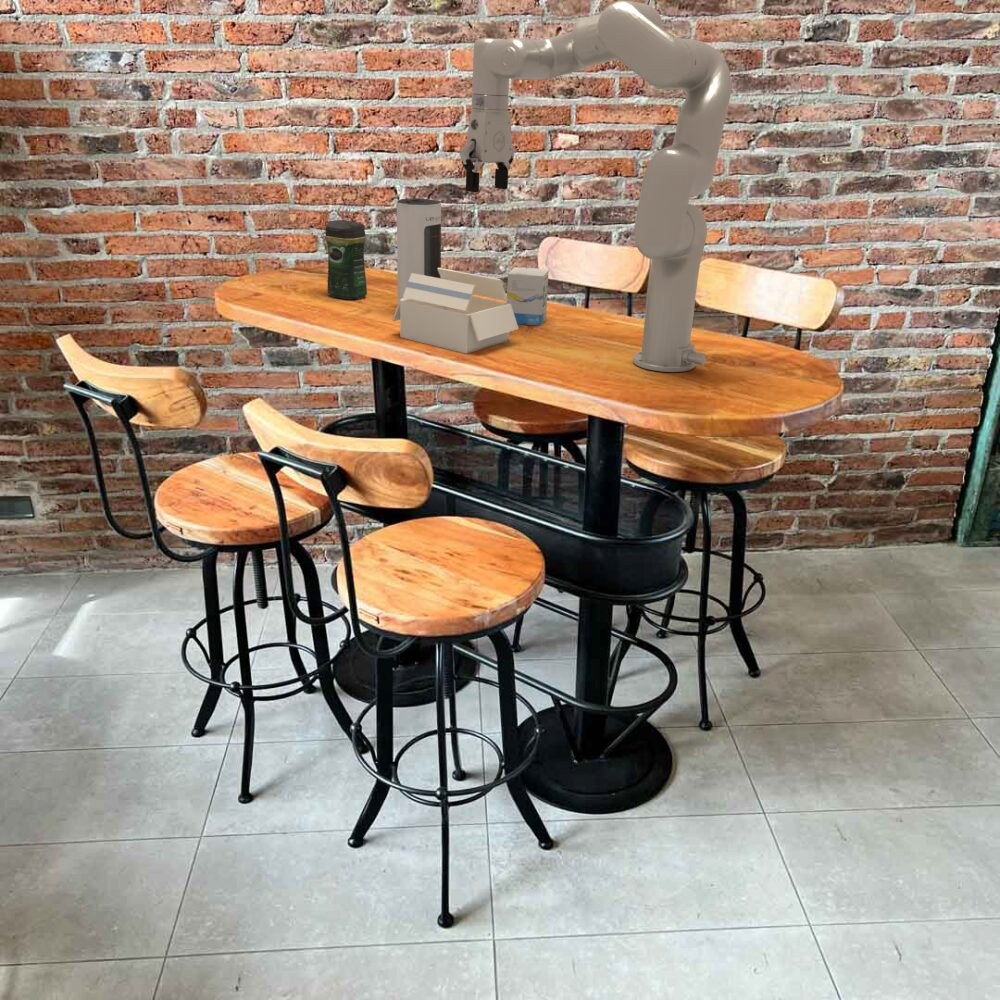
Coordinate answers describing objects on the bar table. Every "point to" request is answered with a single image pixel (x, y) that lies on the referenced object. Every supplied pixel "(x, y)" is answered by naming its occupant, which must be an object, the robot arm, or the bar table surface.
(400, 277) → the speaker
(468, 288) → the front flap
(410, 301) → the carton
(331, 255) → the coffee jar
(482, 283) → the back flap
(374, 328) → the bar table surface
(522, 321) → the ink box
